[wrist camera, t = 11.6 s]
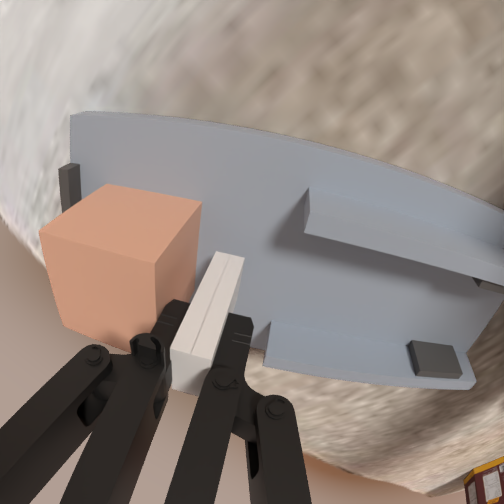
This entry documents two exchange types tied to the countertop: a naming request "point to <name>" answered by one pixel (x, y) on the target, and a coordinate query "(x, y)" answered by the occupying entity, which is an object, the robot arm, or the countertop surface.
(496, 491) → the supplement box
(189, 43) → the countertop surface
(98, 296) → the block
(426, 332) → the chute
